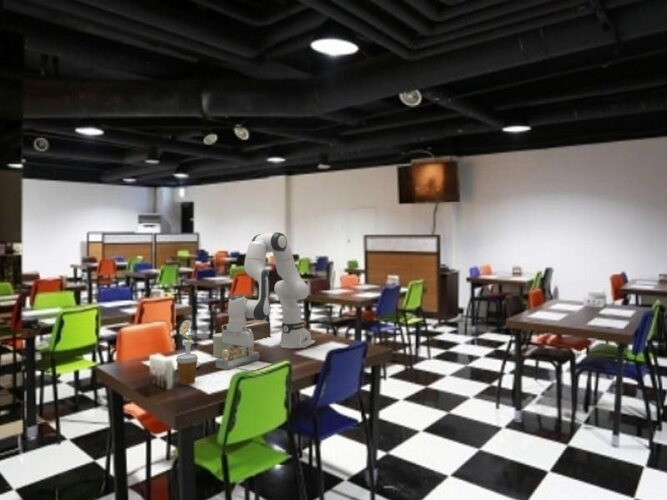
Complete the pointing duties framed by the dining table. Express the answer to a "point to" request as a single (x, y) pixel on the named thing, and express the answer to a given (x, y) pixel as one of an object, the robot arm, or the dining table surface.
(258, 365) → the mat
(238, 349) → the lever cap
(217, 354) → the can
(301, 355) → the dining table surface
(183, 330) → the flower in vase
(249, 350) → the hand plane
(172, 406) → the dining table surface
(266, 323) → the tissue box cover
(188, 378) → the disposable coffee cup
